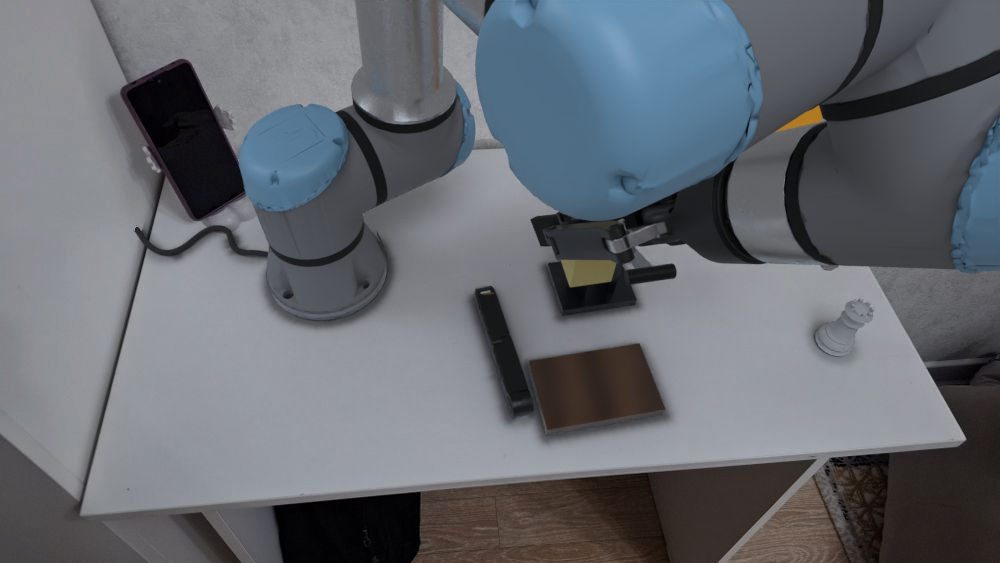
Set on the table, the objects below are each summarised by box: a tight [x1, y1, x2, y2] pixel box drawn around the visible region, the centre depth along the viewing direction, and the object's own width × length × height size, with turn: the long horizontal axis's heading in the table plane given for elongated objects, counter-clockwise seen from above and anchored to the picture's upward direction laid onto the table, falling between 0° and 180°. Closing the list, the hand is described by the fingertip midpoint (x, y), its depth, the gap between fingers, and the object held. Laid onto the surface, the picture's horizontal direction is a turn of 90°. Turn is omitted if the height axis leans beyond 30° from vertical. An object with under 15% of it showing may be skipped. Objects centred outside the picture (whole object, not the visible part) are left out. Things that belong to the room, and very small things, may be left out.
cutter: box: [546, 260, 637, 317], centre depth 77 cm, size 8×10×14 cm
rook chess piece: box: [814, 297, 875, 357], centre depth 76 cm, size 4×4×8 cm
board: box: [527, 343, 666, 436], centre depth 73 cm, size 14×9×2 cm, turn 101°
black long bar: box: [474, 285, 535, 419], centre depth 75 cm, size 18×3×3 cm, turn 16°
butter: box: [560, 260, 616, 287], centre depth 54 cm, size 4×4×11 cm
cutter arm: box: [624, 247, 678, 286], centre depth 68 cm, size 15×5×2 cm, turn 11°
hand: (564, 218), depth 57 cm, fingers closed on butter, 5 cm apart
